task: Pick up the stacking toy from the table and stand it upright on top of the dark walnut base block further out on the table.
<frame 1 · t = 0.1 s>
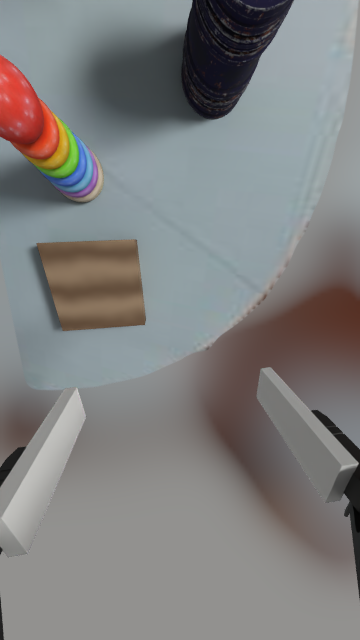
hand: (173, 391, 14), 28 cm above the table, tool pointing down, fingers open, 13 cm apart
storage jar: (212, 77, 28), on the table
walnut base: (101, 285, 37), on the table
stacking toy: (80, 175, 31), on the table
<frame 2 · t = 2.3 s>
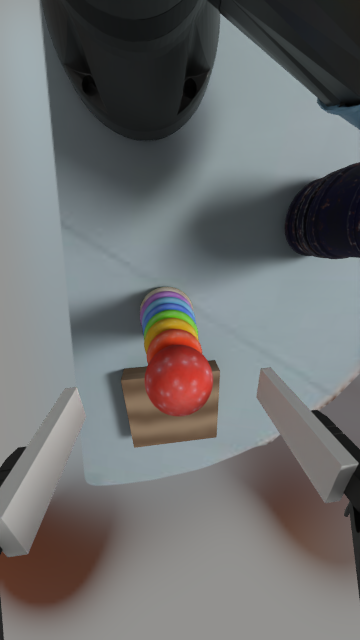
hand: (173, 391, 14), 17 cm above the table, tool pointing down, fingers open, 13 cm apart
storage jar: (316, 219, 26), on the table
walnut base: (172, 399, 36), on the table
stacking toy: (166, 310, 29), on the table
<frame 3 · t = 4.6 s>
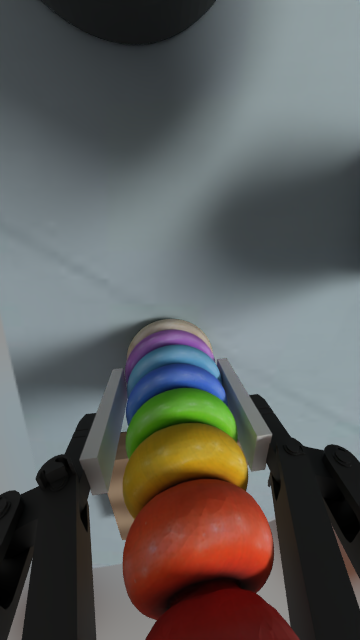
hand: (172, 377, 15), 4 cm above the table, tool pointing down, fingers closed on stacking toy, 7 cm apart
walnut base: (177, 468, 25), on the table
stacking toy: (170, 352, 19), on the table, touching gripper
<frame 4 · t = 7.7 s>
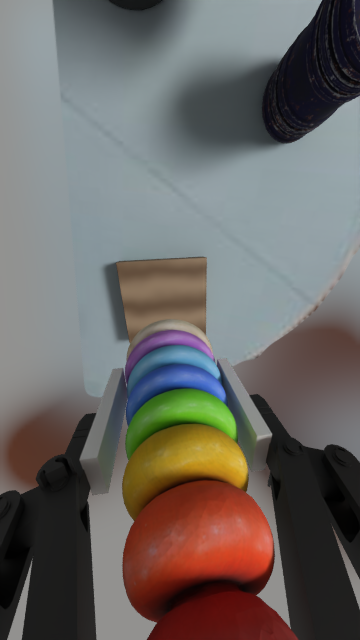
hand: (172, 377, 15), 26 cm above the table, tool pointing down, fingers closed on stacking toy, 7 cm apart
storage jar: (290, 104, 29), on the table
walnut base: (165, 299, 39), on the table
stacking toy: (170, 352, 19), point 22 cm above the table, touching gripper
when the fingers open (9 cm above the table, at t = 10.8 s): stacking toy drops 2 cm, resting on walnut base.
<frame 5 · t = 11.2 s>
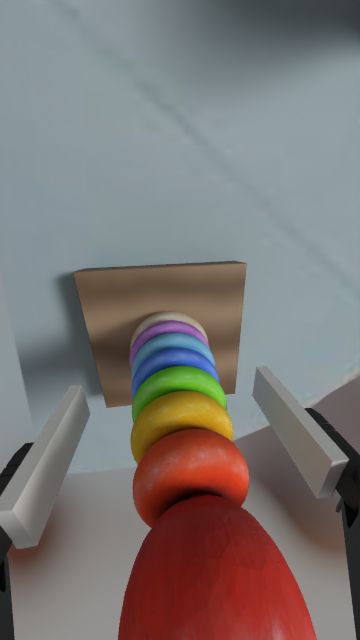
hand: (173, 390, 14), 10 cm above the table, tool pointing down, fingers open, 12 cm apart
walnut base: (167, 332, 23), on the table
stacking toy: (169, 342, 20), point 3 cm above the table, touching walnut base
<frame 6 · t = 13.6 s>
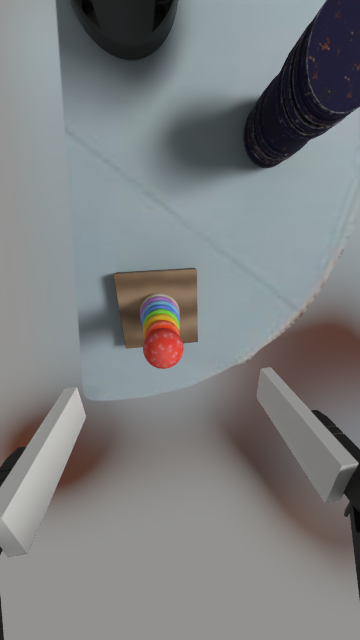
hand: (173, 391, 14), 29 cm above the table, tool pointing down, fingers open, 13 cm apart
storage jar: (269, 135, 33), on the table
walnut base: (159, 307, 42), on the table
stacking toy: (159, 310, 39), point 3 cm above the table, touching walnut base
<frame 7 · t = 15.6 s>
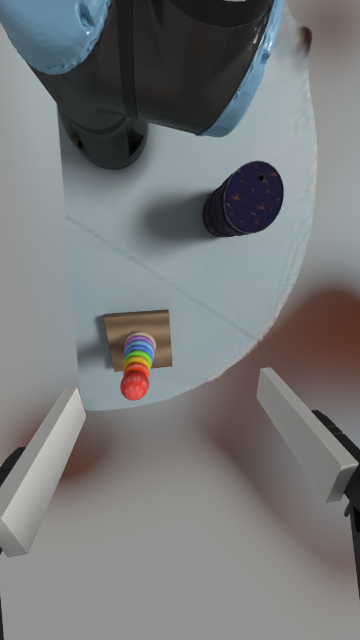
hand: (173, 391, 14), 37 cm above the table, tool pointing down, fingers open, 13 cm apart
storage jar: (222, 214, 43), on the table
walnut base: (141, 338, 52), on the table
stacking toy: (140, 343, 50), point 3 cm above the table, touching walnut base
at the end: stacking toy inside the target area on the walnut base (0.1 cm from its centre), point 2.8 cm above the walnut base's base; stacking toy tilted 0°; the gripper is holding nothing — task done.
